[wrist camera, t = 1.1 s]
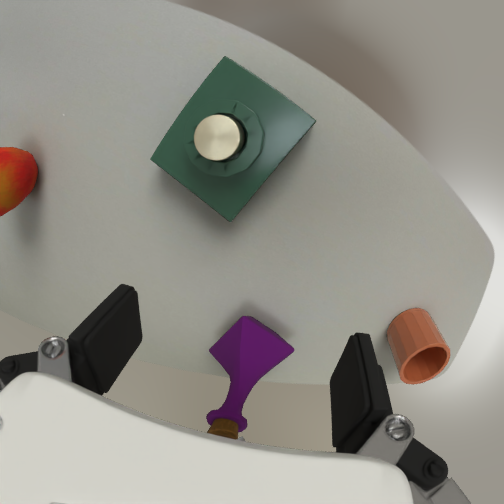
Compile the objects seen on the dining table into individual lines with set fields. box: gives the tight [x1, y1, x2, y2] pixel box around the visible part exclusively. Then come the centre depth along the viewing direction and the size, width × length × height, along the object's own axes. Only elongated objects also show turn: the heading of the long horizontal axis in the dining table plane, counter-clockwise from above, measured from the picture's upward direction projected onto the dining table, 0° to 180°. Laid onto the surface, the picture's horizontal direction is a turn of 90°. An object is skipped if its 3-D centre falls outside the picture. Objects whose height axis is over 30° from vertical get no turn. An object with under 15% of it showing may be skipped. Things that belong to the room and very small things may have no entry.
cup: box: [387, 308, 450, 384], centre depth 28 cm, size 7×7×7 cm
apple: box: [0, 147, 38, 216], centre depth 24 cm, size 9×9×12 cm
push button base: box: [151, 56, 316, 222], centre depth 23 cm, size 12×10×5 cm
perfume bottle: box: [206, 316, 294, 441], centre depth 26 cm, size 8×8×18 cm
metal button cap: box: [194, 115, 244, 161], centre depth 20 cm, size 4×4×2 cm
